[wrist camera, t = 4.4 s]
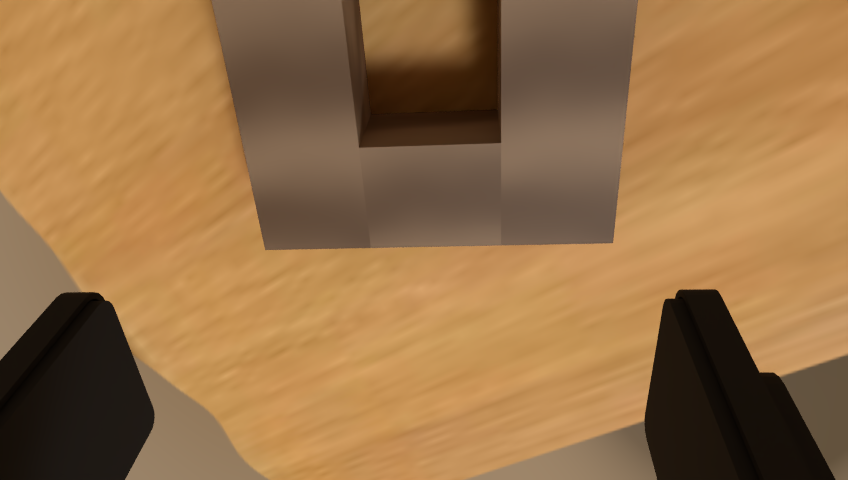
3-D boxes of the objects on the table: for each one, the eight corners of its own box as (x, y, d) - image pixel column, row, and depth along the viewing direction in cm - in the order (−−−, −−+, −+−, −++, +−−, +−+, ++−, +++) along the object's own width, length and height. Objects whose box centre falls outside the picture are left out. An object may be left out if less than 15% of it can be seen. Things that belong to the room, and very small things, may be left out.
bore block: (218, -146, 26) (180, -144, 23) (630, -175, 25) (655, -177, 22) (285, 209, 34) (265, 250, 31) (598, 201, 33) (613, 243, 30)
